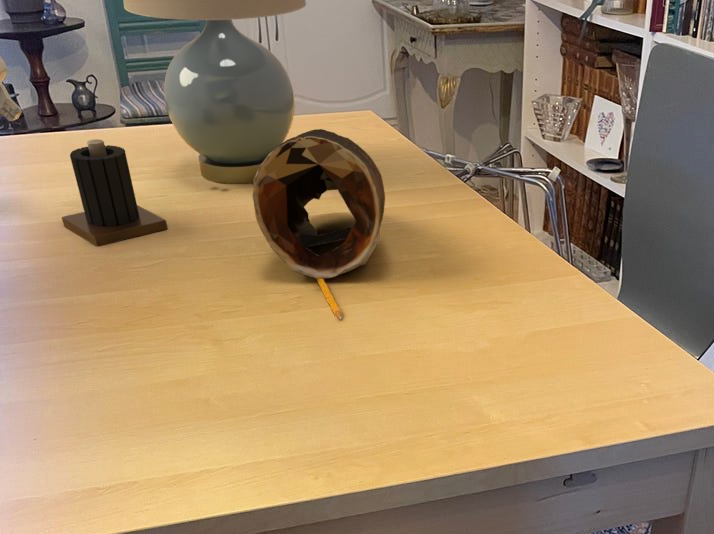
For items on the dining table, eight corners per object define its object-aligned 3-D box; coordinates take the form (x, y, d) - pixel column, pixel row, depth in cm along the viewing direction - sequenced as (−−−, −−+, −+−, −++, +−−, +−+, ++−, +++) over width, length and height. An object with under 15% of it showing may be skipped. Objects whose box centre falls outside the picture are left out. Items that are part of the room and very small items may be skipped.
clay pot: (379, 115, 124) (369, 123, 103) (399, 238, 132) (394, 270, 111) (269, 131, 125) (237, 143, 103) (296, 253, 133) (270, 287, 111)
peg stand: (97, 246, 120) (74, 157, 113) (63, 226, 125) (40, 139, 118) (168, 229, 125) (150, 142, 118) (132, 210, 130) (114, 126, 123)
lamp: (331, 191, 138) (301, -154, 112) (157, 202, 133) (84, -155, 107) (312, 146, 155) (282, -161, 130) (158, 154, 151) (95, -163, 125)
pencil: (321, 277, 113) (320, 272, 113) (345, 322, 104) (344, 316, 104) (314, 278, 113) (314, 272, 113) (337, 322, 104) (337, 316, 103)
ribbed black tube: (100, 229, 121) (84, 162, 116) (78, 216, 125) (61, 151, 119) (147, 218, 124) (133, 153, 119) (124, 206, 128) (109, 142, 123)
